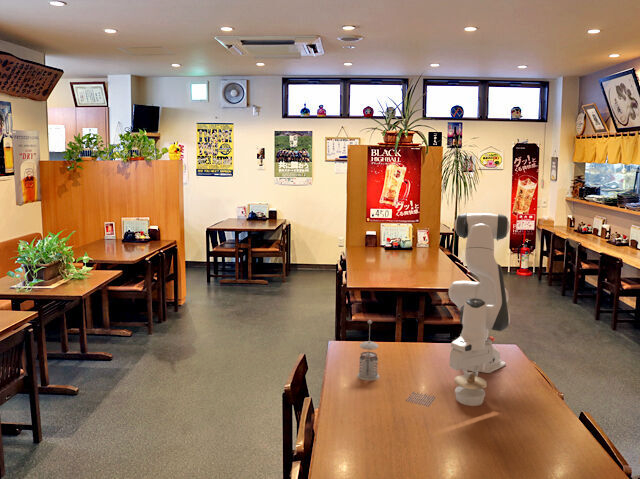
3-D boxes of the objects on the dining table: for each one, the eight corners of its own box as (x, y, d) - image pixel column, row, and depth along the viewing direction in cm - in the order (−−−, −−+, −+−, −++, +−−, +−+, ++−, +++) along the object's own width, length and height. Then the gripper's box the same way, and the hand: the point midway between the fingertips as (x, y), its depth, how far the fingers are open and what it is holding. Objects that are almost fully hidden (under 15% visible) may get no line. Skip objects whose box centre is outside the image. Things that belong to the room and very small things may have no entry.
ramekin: (448, 403, 217) (449, 390, 216) (463, 394, 225) (464, 382, 224) (475, 413, 209) (476, 399, 208) (489, 403, 217) (490, 390, 217)
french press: (380, 372, 246) (382, 317, 242) (378, 383, 234) (380, 325, 230) (358, 370, 247) (359, 316, 243) (355, 381, 236) (356, 324, 232)
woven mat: (402, 406, 215) (403, 401, 215) (412, 395, 224) (412, 390, 224) (429, 412, 210) (429, 407, 210) (437, 401, 219) (437, 396, 219)
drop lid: (470, 374, 224) (470, 365, 223) (493, 385, 213) (494, 376, 213) (447, 380, 218) (448, 371, 217) (470, 391, 207) (471, 382, 207)
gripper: (485, 335, 221) (483, 368, 223) (447, 343, 210) (445, 378, 213) (498, 340, 216) (496, 374, 218) (460, 348, 205) (457, 384, 207)
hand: (470, 376), depth 215 cm, fingers closed on drop lid, 3 cm apart
